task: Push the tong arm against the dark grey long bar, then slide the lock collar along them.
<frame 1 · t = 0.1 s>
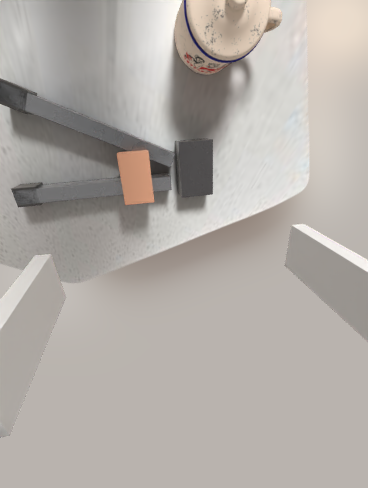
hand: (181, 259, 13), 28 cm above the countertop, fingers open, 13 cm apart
teacup with lid: (215, 36, 32), on the countertop
lock collar: (136, 177, 33), point 5 cm above the countertop, slide at 0.0 cm
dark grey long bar: (167, 165, 38), on the countertop
tong arm: (96, 129, 32), point 2 cm above the countertop, hinge at 25.0°
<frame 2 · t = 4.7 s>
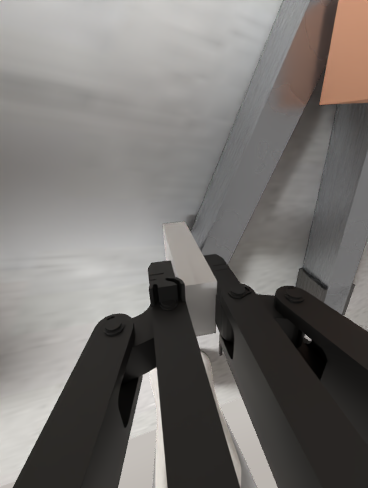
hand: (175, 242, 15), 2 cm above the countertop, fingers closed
beer glass: (180, 367, 23), on the countertop
tong arm: (245, 162, 14), point 2 cm above the countertop, hinge at 23.2°, touching gripper
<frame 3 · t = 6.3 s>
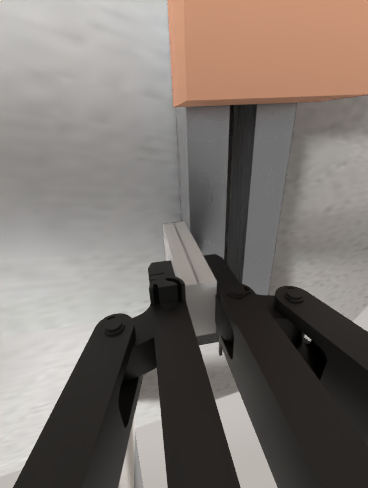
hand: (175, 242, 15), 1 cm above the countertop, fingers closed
beer glass: (106, 382, 22), on the countertop
lock collar: (271, 33, 8), point 5 cm above the countertop, slide at 0.0 cm
tong arm: (201, 188, 14), point 2 cm above the countertop, hinge at -0.1°, touching gripper
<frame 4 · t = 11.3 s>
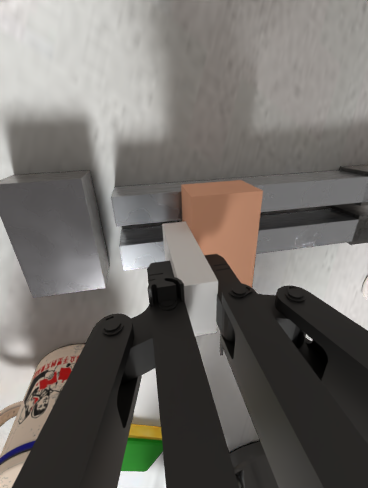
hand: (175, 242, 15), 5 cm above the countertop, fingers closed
teacup with lid: (67, 372, 25), on the countertop
lock collar: (217, 238, 15), point 5 cm above the countertop, slide at 1.4 cm, touching gripper
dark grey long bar: (121, 226, 19), on the countertop
tong arm: (256, 233, 20), point 2 cm above the countertop, hinge at -0.1°
dish sponge: (110, 433, 32), on the countertop
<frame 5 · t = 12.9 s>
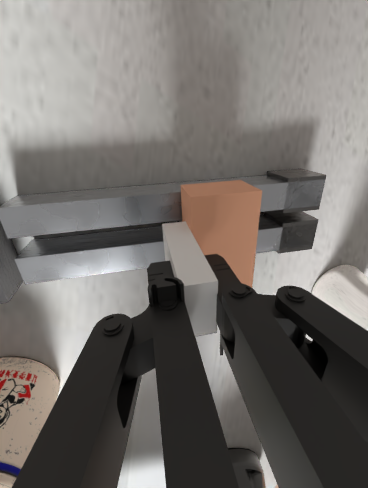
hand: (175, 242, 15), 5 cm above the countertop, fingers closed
beer glass: (334, 286, 27), on the countertop
teacup with lid: (0, 385, 24), on the countertop
lock collar: (217, 238, 15), point 5 cm above the countertop, slide at 8.1 cm, touching gripper
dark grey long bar: (32, 236, 18), on the countertop
tong arm: (177, 242, 19), point 2 cm above the countertop, hinge at -0.1°
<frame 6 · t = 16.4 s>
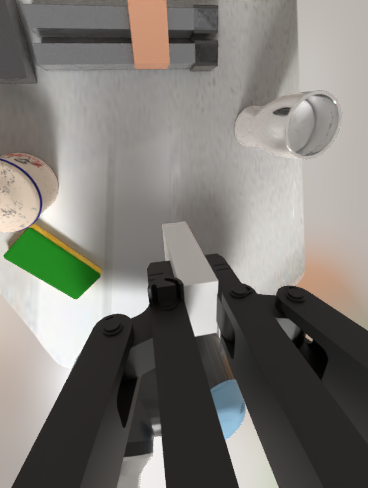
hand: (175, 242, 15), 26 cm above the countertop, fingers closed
beer glass: (251, 127, 38), on the countertop
teacup with lid: (18, 183, 36), on the countertop
lock collar: (148, 30, 27), point 5 cm above the countertop, slide at 8.2 cm
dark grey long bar: (41, 49, 30), on the countertop
tong arm: (131, 57, 30), point 2 cm above the countertop, hinge at -0.1°
dish sponge: (58, 259, 43), on the countertop
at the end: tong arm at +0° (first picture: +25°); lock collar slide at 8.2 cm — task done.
